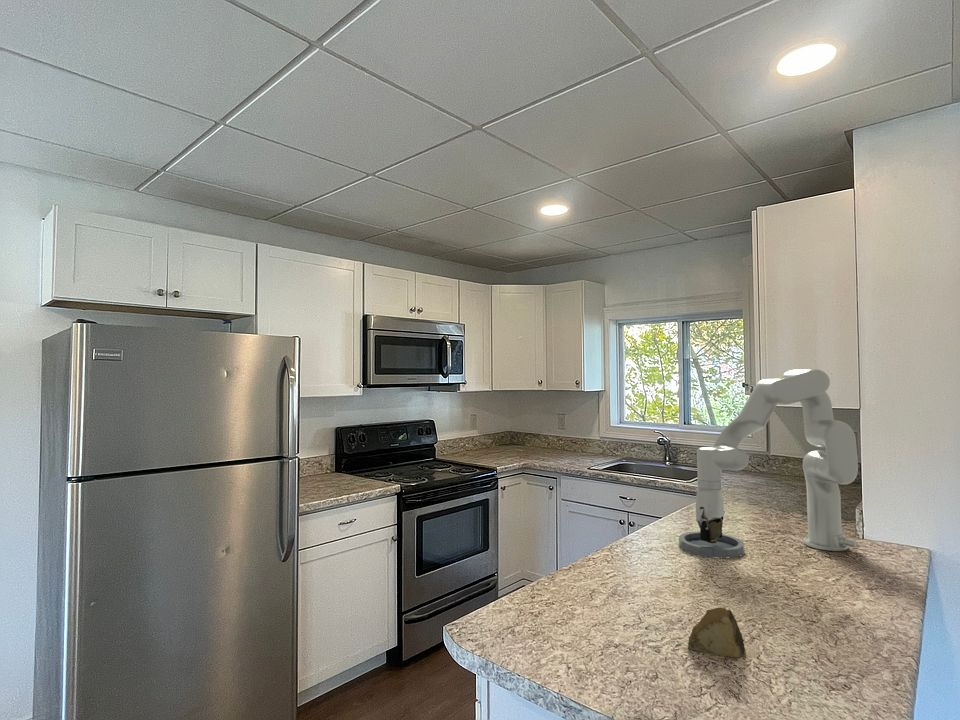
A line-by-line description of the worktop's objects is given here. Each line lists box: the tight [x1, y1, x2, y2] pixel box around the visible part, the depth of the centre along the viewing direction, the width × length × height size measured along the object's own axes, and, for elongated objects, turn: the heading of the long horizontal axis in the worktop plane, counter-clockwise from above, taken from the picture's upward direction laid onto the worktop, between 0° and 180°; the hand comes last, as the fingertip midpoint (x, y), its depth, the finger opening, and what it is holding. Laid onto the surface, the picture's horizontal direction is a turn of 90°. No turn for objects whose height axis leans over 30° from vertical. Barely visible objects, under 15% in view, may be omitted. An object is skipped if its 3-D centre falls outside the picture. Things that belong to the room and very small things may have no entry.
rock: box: [687, 607, 747, 659], centre depth 110 cm, size 11×9×10 cm
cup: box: [703, 518, 724, 543], centre depth 174 cm, size 8×7×8 cm
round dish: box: [678, 531, 746, 559], centre depth 174 cm, size 20×20×3 cm
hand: (711, 538), depth 174 cm, fingers closed on cup, 6 cm apart
